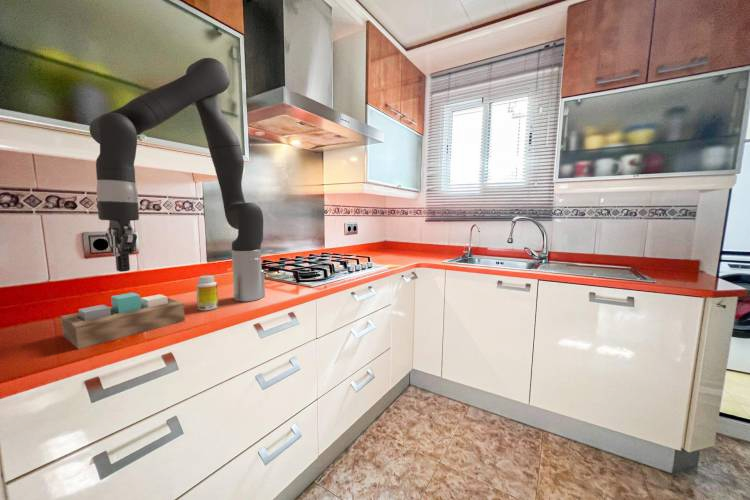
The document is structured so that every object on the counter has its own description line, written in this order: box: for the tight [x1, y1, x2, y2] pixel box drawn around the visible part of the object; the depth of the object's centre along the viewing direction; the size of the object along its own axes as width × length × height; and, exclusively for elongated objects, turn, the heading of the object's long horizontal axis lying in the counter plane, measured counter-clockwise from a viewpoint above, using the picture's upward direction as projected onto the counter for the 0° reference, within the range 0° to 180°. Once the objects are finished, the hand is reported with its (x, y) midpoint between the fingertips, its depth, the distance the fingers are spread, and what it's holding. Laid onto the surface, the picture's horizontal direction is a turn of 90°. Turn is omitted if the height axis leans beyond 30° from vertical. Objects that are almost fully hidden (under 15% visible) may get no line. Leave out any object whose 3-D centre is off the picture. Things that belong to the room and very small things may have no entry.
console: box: [60, 297, 186, 350], centre depth 75 cm, size 21×12×5 cm, turn 147°
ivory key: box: [140, 293, 169, 308], centre depth 79 cm, size 4×4×4 cm
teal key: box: [110, 292, 142, 314], centre depth 74 cm, size 4×4×4 cm
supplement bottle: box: [195, 274, 219, 312], centre depth 91 cm, size 6×6×10 cm
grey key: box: [78, 304, 111, 321], centre depth 69 cm, size 4×4×4 cm
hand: (123, 270), depth 73 cm, fingers closed
